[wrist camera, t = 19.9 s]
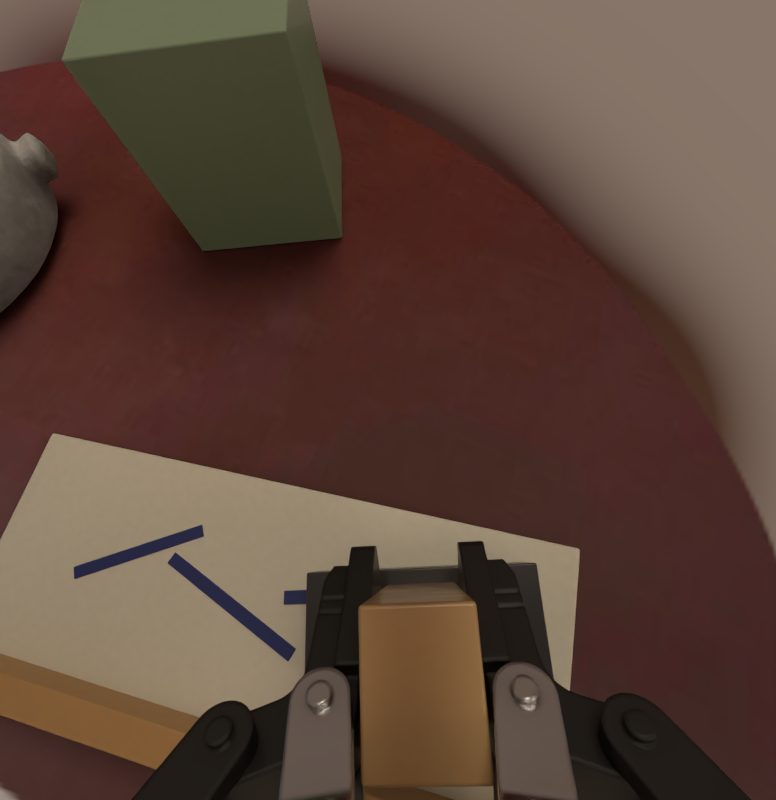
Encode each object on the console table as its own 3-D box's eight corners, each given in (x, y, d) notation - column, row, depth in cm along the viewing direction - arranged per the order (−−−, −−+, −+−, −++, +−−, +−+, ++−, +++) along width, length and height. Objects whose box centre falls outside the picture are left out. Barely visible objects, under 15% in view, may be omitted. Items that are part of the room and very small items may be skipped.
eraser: (524, 561, 16) (615, 567, 9) (541, 682, 15) (670, 825, 7) (319, 570, 17) (225, 584, 9) (318, 688, 16) (205, 826, 8)
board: (574, 549, 17) (594, 548, 15) (550, 863, 14) (571, 916, 12) (65, 436, 21) (25, 423, 19) (-45, 665, 18) (-106, 679, 16)
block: (342, 157, 26) (292, -70, 16) (342, 238, 24) (286, 30, 14) (213, 172, 26) (94, -41, 17) (202, 252, 24) (60, 60, 15)
